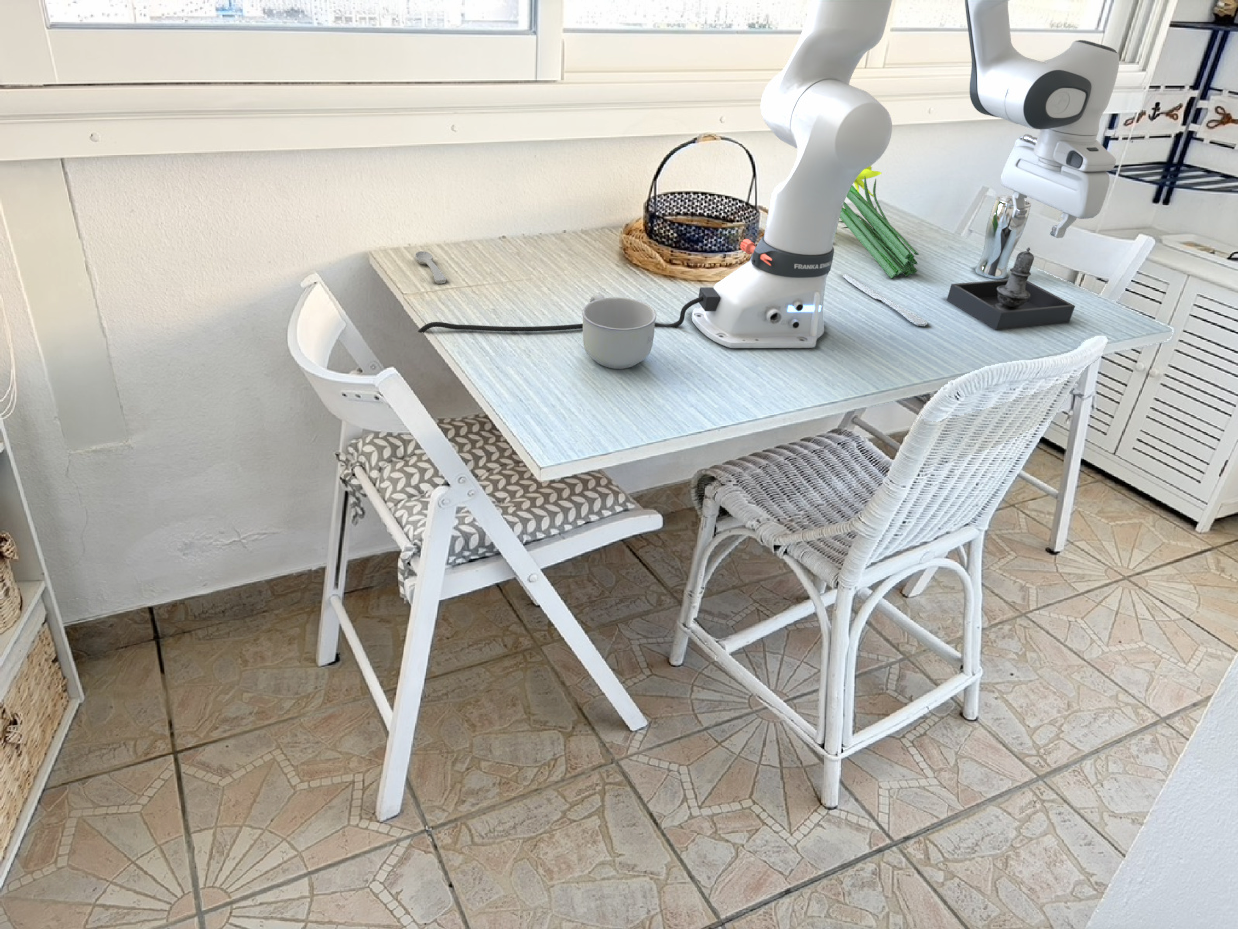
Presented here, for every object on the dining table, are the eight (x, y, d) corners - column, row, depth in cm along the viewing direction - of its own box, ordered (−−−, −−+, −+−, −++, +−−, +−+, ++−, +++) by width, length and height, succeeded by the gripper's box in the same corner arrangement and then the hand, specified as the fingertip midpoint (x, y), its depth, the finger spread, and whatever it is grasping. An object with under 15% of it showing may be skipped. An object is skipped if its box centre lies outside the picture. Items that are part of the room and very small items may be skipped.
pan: (995, 330, 162) (1001, 312, 160) (946, 300, 172) (951, 283, 170) (1069, 322, 168) (1075, 305, 167) (1017, 293, 178) (1022, 278, 177)
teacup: (660, 374, 136) (666, 324, 131) (589, 378, 132) (593, 327, 128) (632, 334, 147) (637, 286, 142) (566, 337, 144) (569, 288, 139)
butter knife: (917, 324, 159) (930, 323, 160) (837, 273, 177) (850, 272, 178) (916, 327, 159) (930, 325, 161) (837, 275, 177) (849, 274, 179)
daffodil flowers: (856, 284, 177) (777, 184, 198) (892, 312, 187) (813, 213, 208) (925, 219, 170) (835, 122, 191) (959, 251, 180) (870, 155, 201)
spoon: (428, 257, 166) (428, 246, 165) (449, 286, 158) (449, 275, 157) (412, 258, 165) (412, 248, 164) (433, 288, 157) (433, 277, 156)
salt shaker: (1026, 318, 167) (1049, 255, 161) (993, 313, 168) (1014, 249, 162) (1021, 306, 172) (1043, 244, 166) (989, 301, 173) (1009, 239, 166)
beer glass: (1015, 277, 187) (1039, 203, 179) (994, 281, 183) (1018, 207, 175) (986, 265, 191) (1009, 193, 183) (965, 269, 188) (988, 196, 180)
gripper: (1005, 131, 161) (982, 209, 169) (1095, 164, 145) (1066, 248, 153) (1033, 130, 163) (1009, 207, 171) (1124, 163, 148) (1093, 246, 155)
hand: (1036, 227), depth 162 cm, fingers open, 8 cm apart
